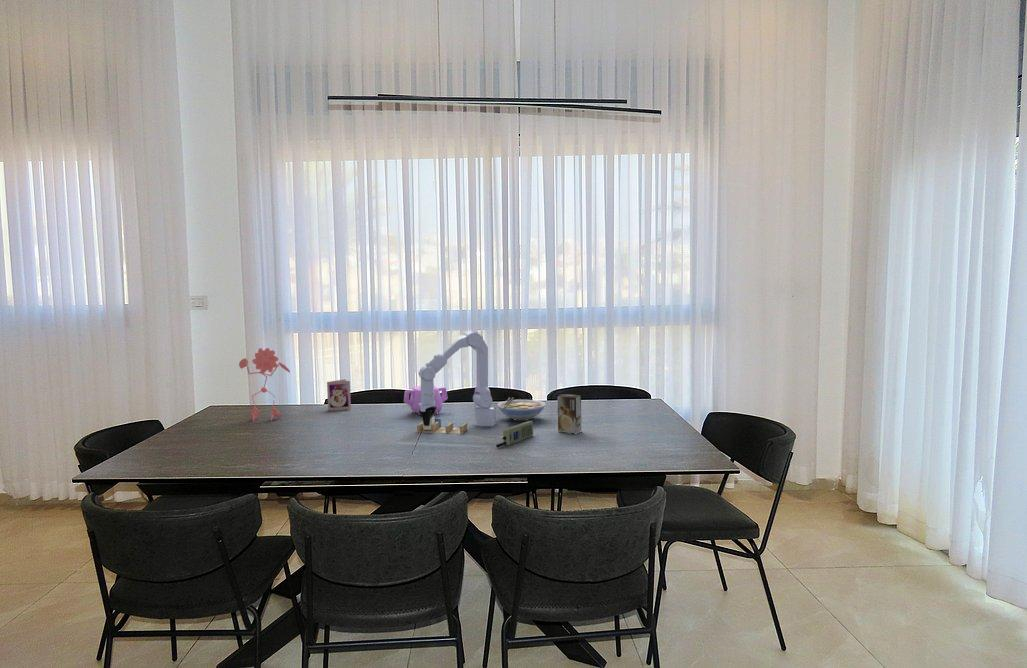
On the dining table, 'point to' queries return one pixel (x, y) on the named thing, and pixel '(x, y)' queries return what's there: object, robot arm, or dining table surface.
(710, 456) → the dining table surface
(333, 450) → the dining table surface
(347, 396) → the greeting card
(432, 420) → the grey rectangular block
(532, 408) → the ramen bowl
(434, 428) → the cable comb
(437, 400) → the teapot
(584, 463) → the dining table surface
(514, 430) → the handheld radio
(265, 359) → the figurine
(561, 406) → the coffee box
